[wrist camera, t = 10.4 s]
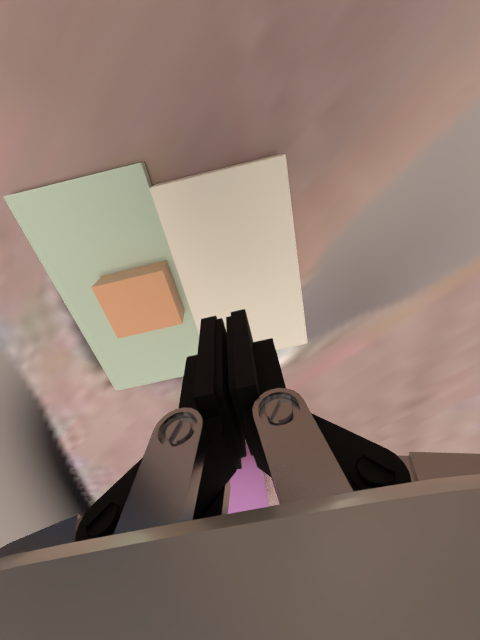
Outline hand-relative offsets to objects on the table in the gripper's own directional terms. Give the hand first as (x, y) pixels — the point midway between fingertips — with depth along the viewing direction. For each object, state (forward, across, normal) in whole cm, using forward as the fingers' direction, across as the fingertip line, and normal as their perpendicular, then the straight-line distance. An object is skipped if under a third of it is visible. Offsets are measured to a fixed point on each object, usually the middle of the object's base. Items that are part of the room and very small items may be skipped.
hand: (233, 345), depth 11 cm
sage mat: (+22, +12, +5) cm, 26 cm away
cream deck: (+22, 0, +6) cm, 23 cm away
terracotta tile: (+20, +10, +5) cm, 23 cm away
